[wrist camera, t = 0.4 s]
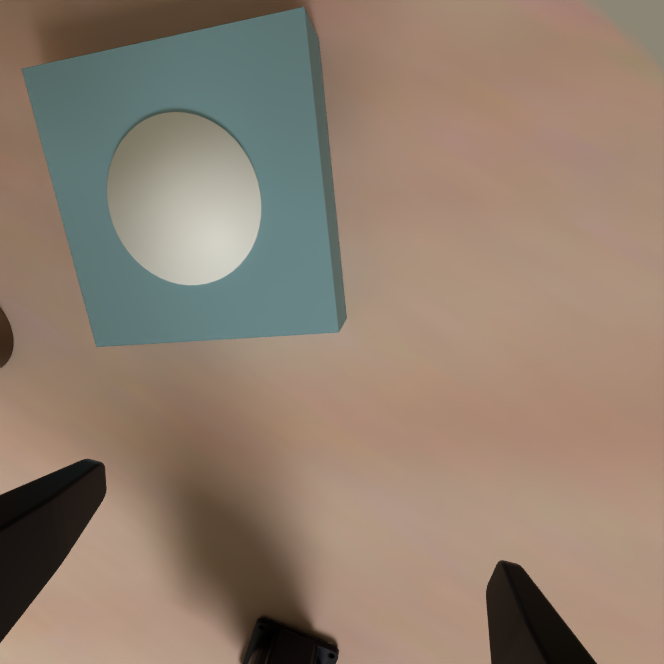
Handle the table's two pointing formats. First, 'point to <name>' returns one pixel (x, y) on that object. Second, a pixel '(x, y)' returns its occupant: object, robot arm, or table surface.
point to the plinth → (197, 183)
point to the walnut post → (5, 339)
